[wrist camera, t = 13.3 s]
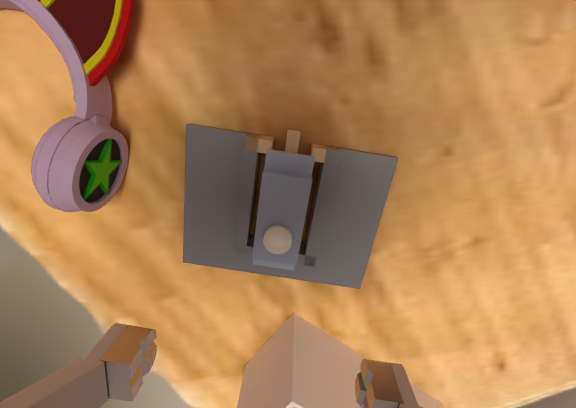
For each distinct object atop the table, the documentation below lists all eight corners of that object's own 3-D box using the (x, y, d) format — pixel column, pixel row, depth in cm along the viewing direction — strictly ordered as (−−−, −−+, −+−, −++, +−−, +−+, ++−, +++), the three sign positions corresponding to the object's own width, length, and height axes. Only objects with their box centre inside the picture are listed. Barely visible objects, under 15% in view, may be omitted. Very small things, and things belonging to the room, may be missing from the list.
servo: (315, 132, 27) (320, 143, 21) (294, 246, 32) (293, 284, 25) (273, 126, 27) (265, 134, 21) (258, 241, 31) (248, 278, 25)
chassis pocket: (395, 156, 28) (404, 162, 25) (358, 284, 33) (363, 298, 30) (189, 123, 27) (179, 126, 25) (185, 258, 32) (176, 270, 30)
